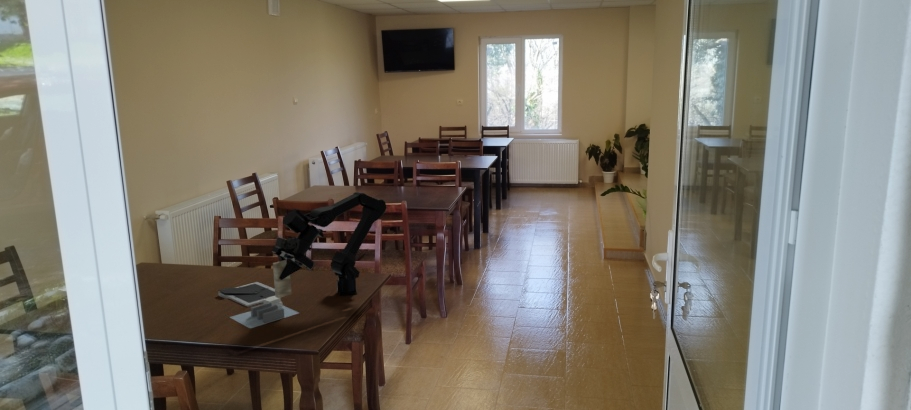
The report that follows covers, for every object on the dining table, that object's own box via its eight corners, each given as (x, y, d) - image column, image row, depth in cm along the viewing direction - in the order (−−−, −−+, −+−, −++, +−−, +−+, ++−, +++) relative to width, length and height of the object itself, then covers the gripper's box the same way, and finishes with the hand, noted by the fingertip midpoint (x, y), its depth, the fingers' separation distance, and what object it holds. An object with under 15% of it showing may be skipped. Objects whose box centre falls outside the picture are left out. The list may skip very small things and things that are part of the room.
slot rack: (278, 305, 214) (277, 295, 213) (299, 315, 205) (298, 304, 204) (229, 319, 201) (228, 308, 201) (250, 330, 192) (249, 319, 191)
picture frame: (218, 297, 224) (247, 310, 211) (218, 290, 224) (247, 303, 210) (257, 286, 236) (286, 299, 222) (256, 279, 235) (286, 291, 222)
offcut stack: (276, 303, 214) (275, 295, 213) (282, 306, 211) (282, 298, 210) (262, 307, 210) (262, 299, 209) (269, 310, 207) (268, 302, 207)
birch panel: (288, 292, 210) (285, 259, 207) (291, 294, 208) (288, 261, 206) (275, 296, 206) (272, 263, 204) (278, 298, 205) (275, 264, 202)
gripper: (274, 223, 211) (247, 261, 206) (303, 232, 199) (276, 272, 193) (295, 240, 219) (270, 277, 213) (325, 250, 206) (299, 289, 200)
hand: (278, 278), depth 205 cm, fingers closed on birch panel, 2 cm apart
